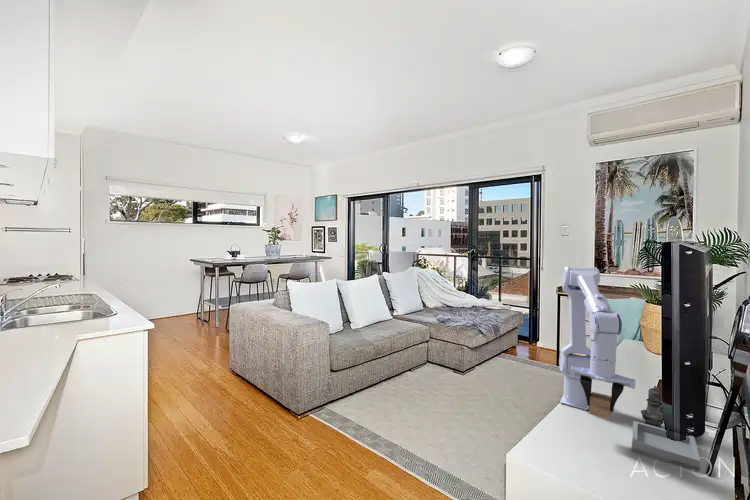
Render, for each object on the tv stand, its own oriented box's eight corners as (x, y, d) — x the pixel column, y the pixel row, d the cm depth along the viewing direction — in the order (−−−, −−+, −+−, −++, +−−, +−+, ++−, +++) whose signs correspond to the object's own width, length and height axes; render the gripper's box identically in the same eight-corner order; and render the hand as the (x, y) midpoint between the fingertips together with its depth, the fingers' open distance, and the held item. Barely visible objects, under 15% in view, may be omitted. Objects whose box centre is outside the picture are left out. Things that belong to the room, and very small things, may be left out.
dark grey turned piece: (654, 433, 103) (657, 390, 102) (634, 422, 108) (637, 382, 108) (670, 430, 104) (673, 389, 103) (650, 420, 110) (652, 380, 109)
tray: (632, 429, 104) (633, 420, 104) (693, 446, 97) (694, 436, 97) (631, 450, 94) (632, 441, 94) (699, 471, 86) (700, 460, 86)
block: (591, 407, 102) (592, 391, 102) (610, 412, 99) (611, 396, 99) (589, 413, 98) (590, 397, 98) (609, 419, 96) (610, 402, 96)
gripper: (570, 355, 99) (567, 404, 100) (636, 368, 91) (632, 422, 91) (574, 348, 105) (571, 395, 106) (636, 360, 96) (633, 411, 97)
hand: (600, 407), depth 99 cm, fingers closed on block, 4 cm apart
